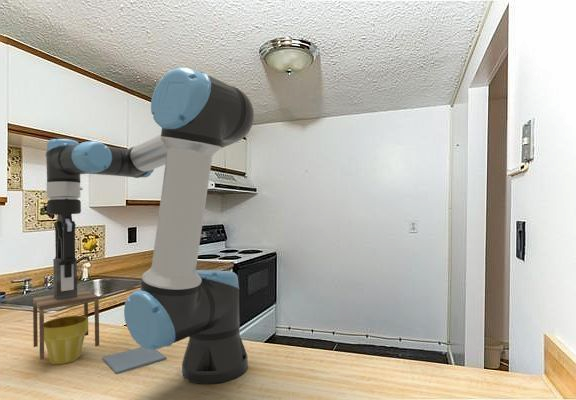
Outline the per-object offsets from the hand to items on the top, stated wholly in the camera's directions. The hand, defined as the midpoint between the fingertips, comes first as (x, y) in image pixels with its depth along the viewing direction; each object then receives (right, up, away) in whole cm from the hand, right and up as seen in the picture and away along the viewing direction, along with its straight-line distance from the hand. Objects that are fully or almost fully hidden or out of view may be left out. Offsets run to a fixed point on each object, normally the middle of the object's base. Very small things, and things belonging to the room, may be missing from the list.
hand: (65, 288), depth 94 cm
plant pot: (0, -18, 0) cm, 18 cm away
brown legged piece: (+1, -15, -1) cm, 15 cm away
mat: (+19, -18, -2) cm, 26 cm away
